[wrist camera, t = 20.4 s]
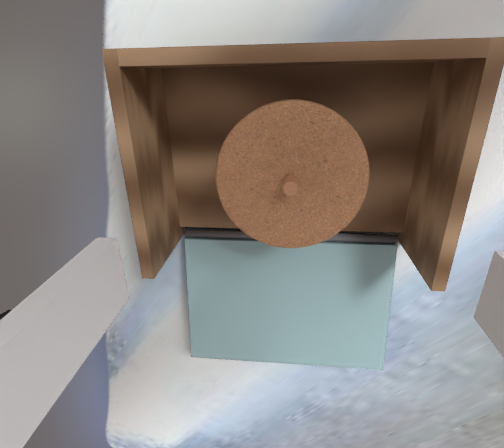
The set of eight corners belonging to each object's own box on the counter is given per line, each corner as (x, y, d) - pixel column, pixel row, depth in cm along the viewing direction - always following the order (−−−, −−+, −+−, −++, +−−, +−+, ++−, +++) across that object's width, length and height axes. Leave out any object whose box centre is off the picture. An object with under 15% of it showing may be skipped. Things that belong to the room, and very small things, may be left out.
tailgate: (184, 230, 34) (191, 356, 38) (398, 236, 32) (382, 369, 36) (186, 228, 35) (193, 351, 39) (395, 233, 33) (380, 363, 37)
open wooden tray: (154, 56, 29) (101, 49, 21) (443, 48, 27) (510, 37, 19) (175, 232, 36) (142, 278, 28) (407, 238, 34) (445, 291, 26)
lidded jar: (366, 187, 31) (396, 230, 22) (260, 226, 34) (250, 278, 25) (327, 70, 27) (344, 69, 19) (211, 125, 30) (180, 145, 21)
